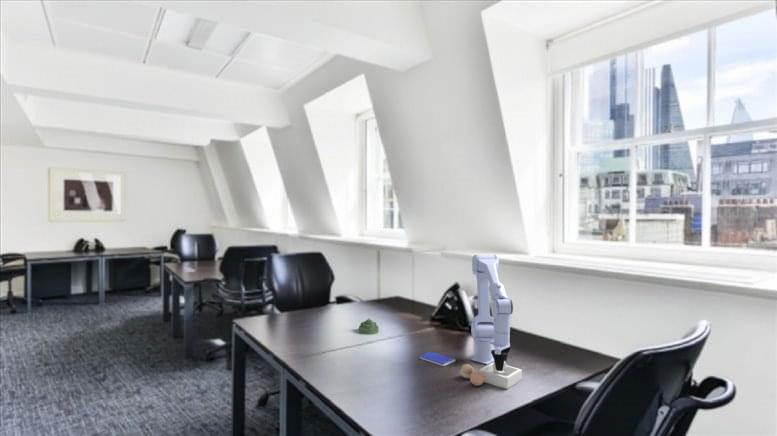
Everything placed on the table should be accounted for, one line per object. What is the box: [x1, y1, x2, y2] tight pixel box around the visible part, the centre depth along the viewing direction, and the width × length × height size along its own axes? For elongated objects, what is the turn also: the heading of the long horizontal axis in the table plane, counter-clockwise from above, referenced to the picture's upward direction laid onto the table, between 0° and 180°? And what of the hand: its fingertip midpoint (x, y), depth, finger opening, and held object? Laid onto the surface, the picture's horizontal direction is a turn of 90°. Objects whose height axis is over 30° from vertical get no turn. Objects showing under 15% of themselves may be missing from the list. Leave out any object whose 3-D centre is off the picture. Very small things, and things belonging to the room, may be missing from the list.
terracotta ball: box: [469, 370, 485, 387], centre depth 148 cm, size 5×5×5 cm
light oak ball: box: [459, 363, 475, 379], centre depth 154 cm, size 5×5×5 cm
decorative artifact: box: [358, 317, 380, 336], centre depth 211 cm, size 10×7×10 cm
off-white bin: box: [478, 361, 523, 390], centre depth 153 cm, size 11×11×4 cm
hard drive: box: [419, 351, 456, 367], centre depth 173 cm, size 2×8×12 cm
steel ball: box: [492, 361, 508, 373], centre depth 153 cm, size 5×5×5 cm
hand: (500, 367), depth 153 cm, fingers open, 5 cm apart
